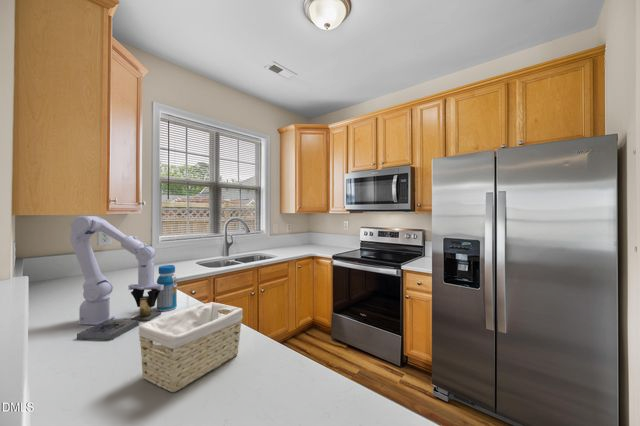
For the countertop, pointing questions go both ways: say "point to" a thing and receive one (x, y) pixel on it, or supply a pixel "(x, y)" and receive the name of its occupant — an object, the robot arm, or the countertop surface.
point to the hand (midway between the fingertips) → (146, 306)
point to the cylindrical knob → (145, 306)
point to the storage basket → (189, 344)
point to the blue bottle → (167, 288)
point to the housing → (107, 330)
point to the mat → (153, 315)
